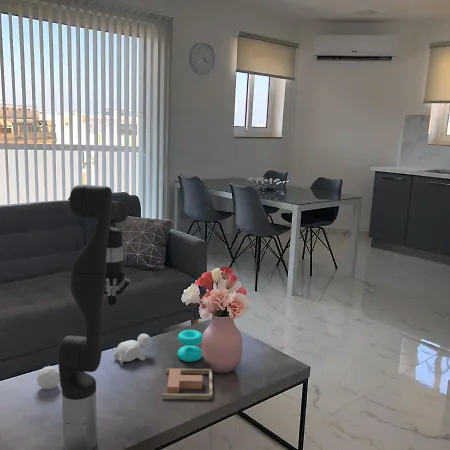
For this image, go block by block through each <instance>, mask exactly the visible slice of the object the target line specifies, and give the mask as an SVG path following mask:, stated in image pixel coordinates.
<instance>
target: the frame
mask: <svg viewBox="0 0 450 450" xmlns="http://www.w3.org/2000/svg"><path fill="white" fill-rule="evenodd" d="M170 369H181V375H208V383H209V385H208V389H209V390H208V391H209V392H208V393H179V394H171V393H167V392H166V393H165V392H163V393H162V397H161V398H162V400H199V401H200V400H202V401H203V400H205V401H206V400H207V401H208V400H210V401H212V400H213V397H214V396H213V393H214V392H213V371H212V370H213V369H212V368H181V367H179V368H177V367H176V368H172V367H169V368H168V367H166V369H165V374H169V372H170Z"/></svg>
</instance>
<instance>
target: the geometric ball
mask: <svg viewBox="0 0 450 450" xmlns="http://www.w3.org/2000/svg"><path fill="white" fill-rule="evenodd" d="M37 374H38V375H37V377H36V379H37V385H38V386H39V387H40V388H41V389H42V390H43V389H44V390H48V391H49V390H53V389H55V388H56V387H57V386H58V385H59V384H60V375H59V368H57V367H55V366H52V365H48V366H44V367H42V368H41V369H40V370H39V371H38V373H37Z"/></svg>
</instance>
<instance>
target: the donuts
mask: <svg viewBox="0 0 450 450" xmlns="http://www.w3.org/2000/svg"><path fill="white" fill-rule="evenodd" d="M202 335H203V334H202V332H201V331H198V330H195V329H185V330H183V331H181V332H180V333H179V334H178V335H177V339H178V342H179V343H180V344H182V345H184V346H181V347H180V348H179V349H178V350H177V357H178V358H179V360H181V361H183V362H186V363H191V362H192V363H194V362H198V361H199V360H200V359H202V357H203V355H202V354H201V350H202V349H201V348H200V347H198V346H197V345H199V344H201V343H202V342H203V340H202ZM201 341H202V342H201Z"/></svg>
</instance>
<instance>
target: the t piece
mask: <svg viewBox="0 0 450 450" xmlns="http://www.w3.org/2000/svg"><path fill="white" fill-rule="evenodd" d="M181 369H182V368H181ZM181 369H170V372H169V373H168V379H167V386H166V389H167V390H166V393H171V394H180V389H191V390H192V389H194V390H196V389H197V390H199V389H200V390H202V389H203V374H181Z"/></svg>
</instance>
